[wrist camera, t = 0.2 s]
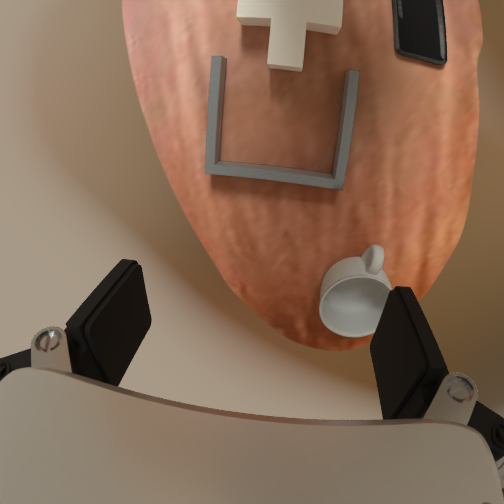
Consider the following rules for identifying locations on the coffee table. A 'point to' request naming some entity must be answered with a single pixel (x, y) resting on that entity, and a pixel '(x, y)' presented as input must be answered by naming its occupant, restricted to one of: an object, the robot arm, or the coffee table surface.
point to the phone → (420, 30)
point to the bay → (275, 172)
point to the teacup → (355, 294)
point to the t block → (290, 25)
